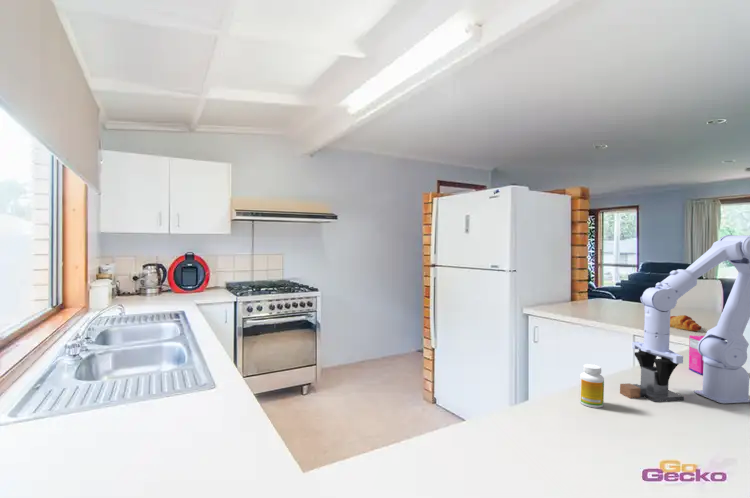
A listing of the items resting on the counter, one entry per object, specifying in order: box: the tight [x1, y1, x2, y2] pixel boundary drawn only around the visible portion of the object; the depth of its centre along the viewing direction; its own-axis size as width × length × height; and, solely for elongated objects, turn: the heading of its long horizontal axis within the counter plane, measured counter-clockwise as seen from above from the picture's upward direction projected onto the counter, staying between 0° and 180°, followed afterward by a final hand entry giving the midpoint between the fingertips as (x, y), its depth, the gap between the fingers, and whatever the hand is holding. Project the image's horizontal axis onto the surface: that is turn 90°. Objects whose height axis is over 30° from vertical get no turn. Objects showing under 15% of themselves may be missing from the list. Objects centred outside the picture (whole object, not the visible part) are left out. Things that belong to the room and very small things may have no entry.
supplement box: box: [688, 335, 705, 376], centre depth 130 cm, size 6×6×12 cm
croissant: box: [670, 314, 702, 332], centre depth 199 cm, size 21×10×8 cm, turn 4°
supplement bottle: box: [578, 363, 605, 409], centre depth 103 cm, size 5×5×10 cm
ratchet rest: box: [619, 383, 685, 403], centre depth 110 cm, size 14×9×4 cm, turn 99°
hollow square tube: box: [639, 365, 669, 394], centre depth 110 cm, size 4×4×6 cm
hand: (654, 381), depth 110 cm, fingers closed on hollow square tube, 4 cm apart
